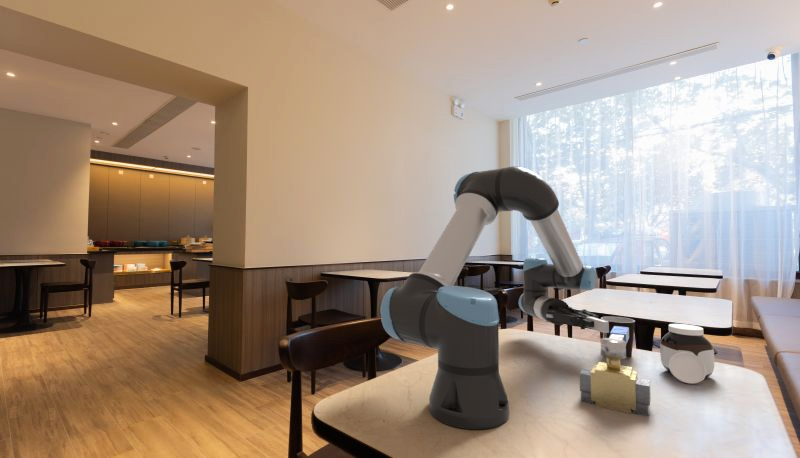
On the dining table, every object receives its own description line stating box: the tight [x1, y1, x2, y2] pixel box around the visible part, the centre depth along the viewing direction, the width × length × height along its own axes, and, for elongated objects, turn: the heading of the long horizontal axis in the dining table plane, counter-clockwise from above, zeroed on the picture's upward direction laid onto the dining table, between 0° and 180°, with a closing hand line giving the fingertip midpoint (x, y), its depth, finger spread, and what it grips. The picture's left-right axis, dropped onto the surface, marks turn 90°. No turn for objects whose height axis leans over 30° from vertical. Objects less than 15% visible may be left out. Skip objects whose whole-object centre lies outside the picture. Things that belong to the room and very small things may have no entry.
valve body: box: [579, 357, 652, 417], centre depth 75 cm, size 12×6×9 cm, turn 54°
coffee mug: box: [600, 316, 636, 358], centre depth 108 cm, size 12×9×10 cm
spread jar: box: [659, 323, 715, 385], centre depth 89 cm, size 12×11×12 cm
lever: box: [600, 326, 629, 360], centre depth 81 cm, size 4×19×3 cm, turn 144°
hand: (606, 327), depth 91 cm, fingers closed
